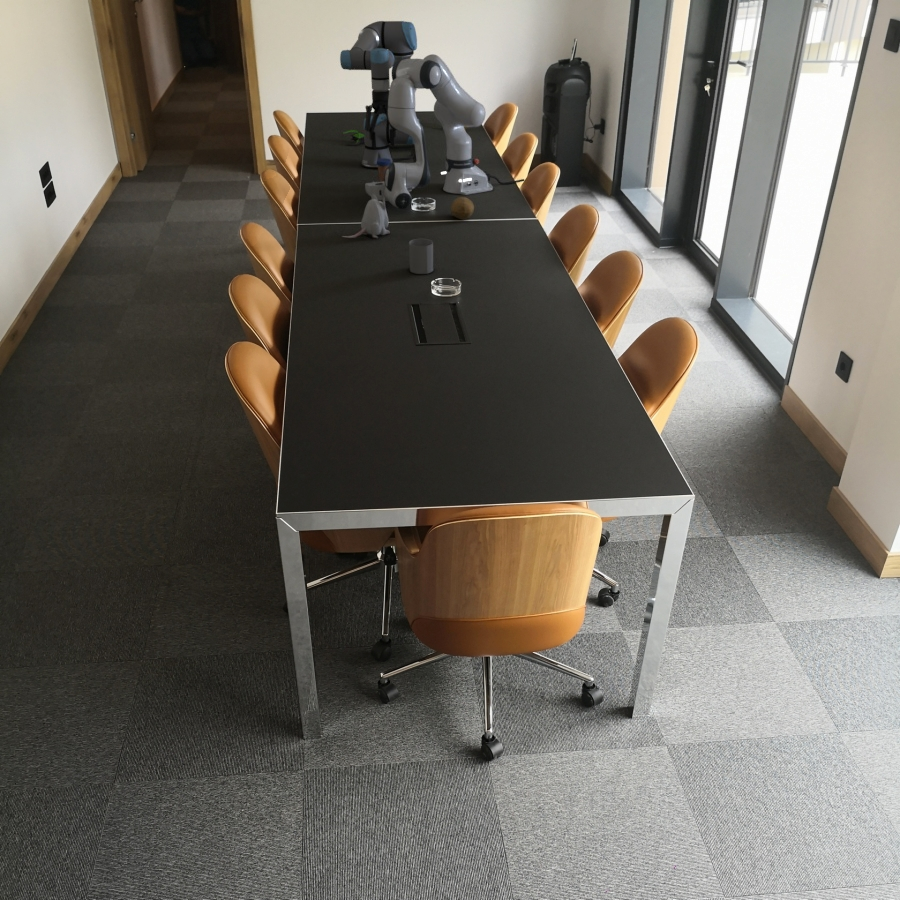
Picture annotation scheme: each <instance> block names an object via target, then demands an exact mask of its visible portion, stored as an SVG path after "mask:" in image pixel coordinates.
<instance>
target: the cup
mask: <svg viewBox="0 0 900 900" xmlns="http://www.w3.org/2000/svg"><path fill="white" fill-rule="evenodd" d="M408 253H409V272H411V273H412V274H416V275H426V274H430V273H432V272H434V241H433V240H431V239H428V238H422V237H421V238H420V237H419V238H414V239H411V240H410V241H409V242H408Z"/></svg>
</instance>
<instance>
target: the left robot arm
mask: <svg viewBox="0 0 900 900" xmlns="http://www.w3.org/2000/svg"><path fill="white" fill-rule="evenodd" d="M417 49H418V37H417V32H416V27H415V25H414V23H413V22H412V21H405V20H379V21H378V20H377V21H374V22H372V23H370V24H368V25H366V26H365V27H363V28H362V29H361V30H360V31H359V33H358V35H357V40H356V41H355V43H354V44H353V45H352V47H351V48H350V49H344V50H343V49H342V50H341V52H340V54H339V63H340V67H341V69H343V70H348V71H370V78H371V79H370V80H371V81H370V82H371V89H372V91H371V98H372V99H371V101H372V102H371V104H369V105H365V111H366V112H365V118H364V119H363V134H364V151H363V155H362V159H361V166H362V167H363V168H366V169H371V170H378V165H377V160H378V159H383V158H385V159H390V160H391V163H392V162H393V163H394V161H403V160H411V159H413V158H414V157H415V154H414V152H411V156H409V157H393V158H392V155H391V152H390V151H391V150H390V147H389V145H390V146H391V147H395V145H415V144H414V140H413V139H412V137H411V136H409V135H407V134H405V133H403V132H401V131H399V130H397V129H395V128H394V127H393V126H392V125H391V124H390V122H389V120H388V97H389V90H390V85H391V82H390V69H392V67H393V65H394V63H395V62H396V61H397V60H399V59H403V58H406V59H412V57H413V56H414V54H415V51H416V50H417ZM372 110H373V112H372ZM372 114H373V115H372ZM417 119H418V121H419V122H420V119H419V118H417Z"/></svg>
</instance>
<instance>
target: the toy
mask: <svg viewBox="0 0 900 900" xmlns="http://www.w3.org/2000/svg"><path fill="white" fill-rule="evenodd" d="M360 227H361V230H360V231H358V232H357V233H355V234H354V235H353V234H352V235H342V236H341V237H342V238H348V239H355V238H357V237H359V236H361V235H365V236H367V235H371V237H372V238H373V239H378V238H379V235H381V236H385V235H390V234H391V232H390V230H388V229H387V228H388V227H389V216H388V213H387V208H386V201H385V199H383V200H377V197H376V196H375V195H374V194H372V197H371V196H370V200H368V201H367V203H366V205H365V208H364V211H363V215H362V218H361V221H360Z"/></svg>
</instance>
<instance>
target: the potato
mask: <svg viewBox="0 0 900 900" xmlns="http://www.w3.org/2000/svg"><path fill="white" fill-rule="evenodd" d="M474 210H475V204H474V203H473V201H472V200H471V199H469V198H468V197H466V196H459V197H457V198H455V199H454V200H453V202H452V203H451V206H450V213H451V214H452V216H454V217H455V218H457V219H459V220H466V219H468V218H470V217H471V216H473V213H474Z"/></svg>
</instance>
